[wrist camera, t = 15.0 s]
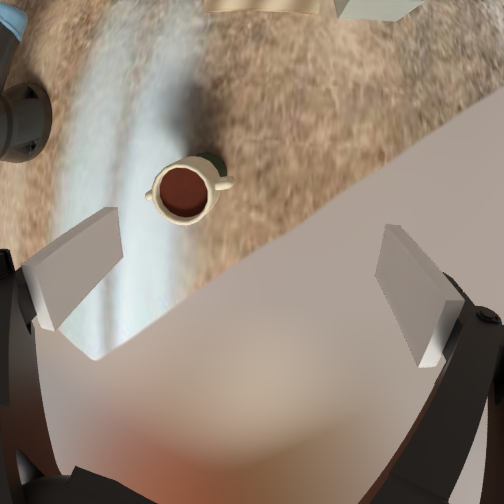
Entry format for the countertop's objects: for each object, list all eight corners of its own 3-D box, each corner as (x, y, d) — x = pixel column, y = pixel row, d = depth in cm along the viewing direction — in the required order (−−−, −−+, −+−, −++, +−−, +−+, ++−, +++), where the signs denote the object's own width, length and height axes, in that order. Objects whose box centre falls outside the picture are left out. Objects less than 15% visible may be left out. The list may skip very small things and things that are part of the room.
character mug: (177, 200, 47) (144, 230, 36) (168, 156, 45) (130, 172, 33) (246, 191, 46) (234, 220, 34) (239, 144, 43) (224, 155, 31)
